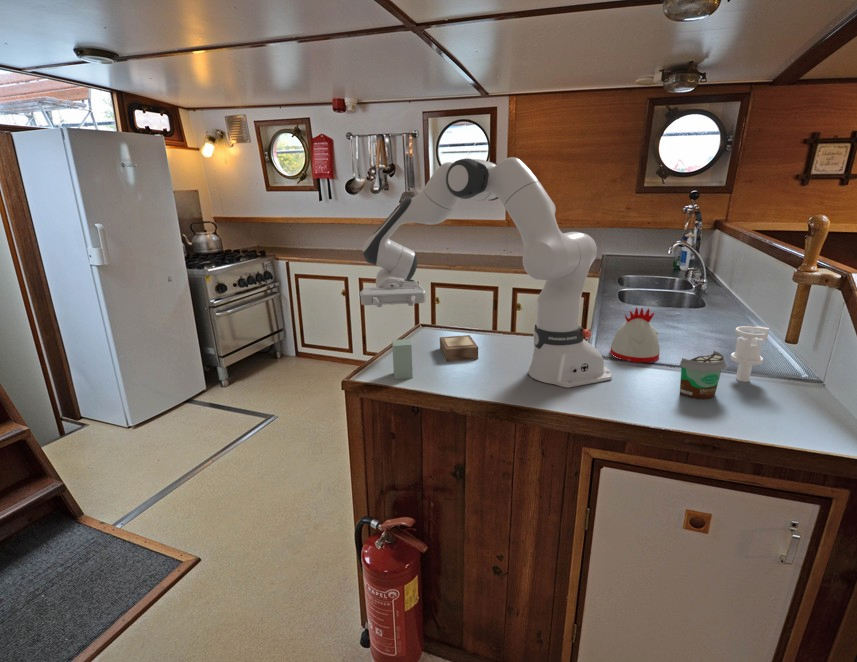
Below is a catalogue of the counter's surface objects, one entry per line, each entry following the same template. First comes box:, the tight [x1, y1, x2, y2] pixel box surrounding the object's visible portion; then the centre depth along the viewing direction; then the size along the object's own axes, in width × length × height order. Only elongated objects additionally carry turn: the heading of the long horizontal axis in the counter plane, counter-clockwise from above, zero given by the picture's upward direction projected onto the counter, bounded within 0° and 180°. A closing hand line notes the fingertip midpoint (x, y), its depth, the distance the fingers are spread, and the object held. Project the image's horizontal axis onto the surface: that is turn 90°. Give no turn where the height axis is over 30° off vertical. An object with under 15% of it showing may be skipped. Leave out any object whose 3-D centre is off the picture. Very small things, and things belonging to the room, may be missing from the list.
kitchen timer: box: [610, 307, 661, 363], centre depth 145 cm, size 14×14×15 cm
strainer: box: [730, 325, 770, 383], centre depth 125 cm, size 7×7×15 cm
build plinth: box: [439, 334, 479, 362], centre depth 152 cm, size 10×12×4 cm
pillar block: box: [391, 338, 414, 380], centre depth 135 cm, size 5×5×10 cm
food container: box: [679, 350, 727, 400], centre depth 118 cm, size 12×6×10 cm, turn 114°
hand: (395, 304), depth 143 cm, fingers open, 8 cm apart
